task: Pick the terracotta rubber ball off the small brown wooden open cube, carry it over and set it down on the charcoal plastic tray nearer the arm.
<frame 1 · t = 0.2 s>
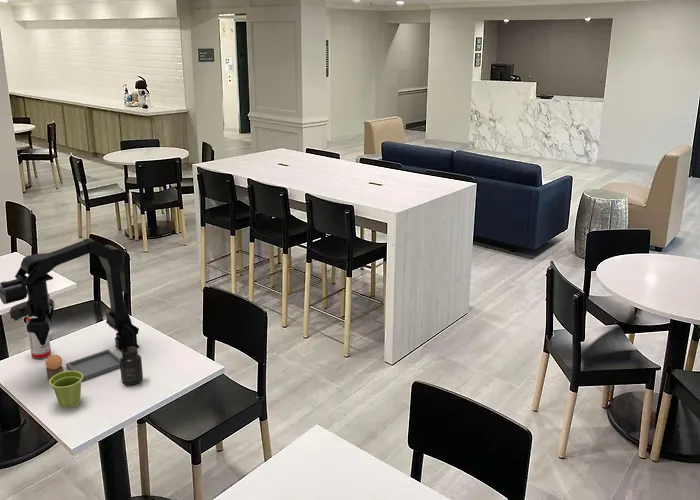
hand: (44, 338, 197), 14 cm above the table, fingers open, 9 cm apart
beer can: (41, 356, 213), on the table
supplement bottle: (132, 381, 200), on the table
ball: (53, 362, 198), point 6 cm above the table, touching brown wooden open cube
brown wooden open cube: (56, 377, 200), on the table
plant pot: (69, 403, 188), on the table
tray: (95, 367, 207), on the table
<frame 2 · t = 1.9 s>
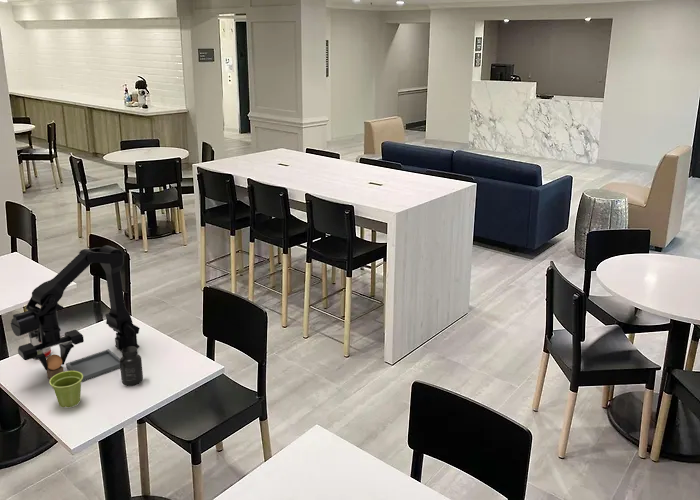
hand: (54, 367, 199), 4 cm above the table, fingers closed on ball, 5 cm apart
ball: (53, 362, 198), point 6 cm above the table, touching brown wooden open cube, gripper
everything else where it was.
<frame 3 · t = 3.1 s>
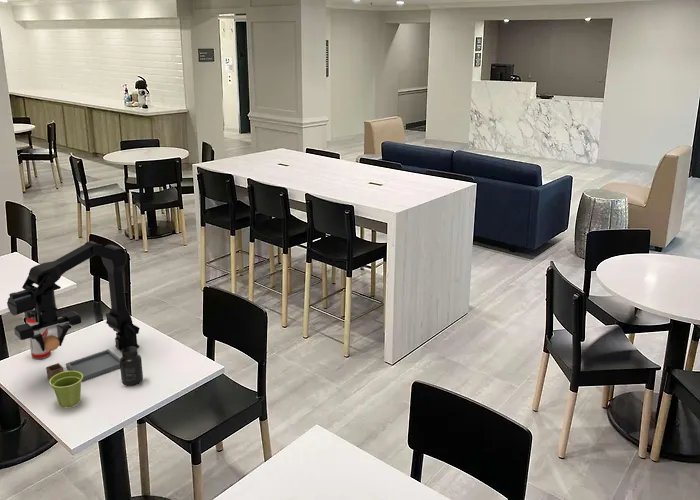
hand: (51, 348, 196), 11 cm above the table, fingers closed on ball, 5 cm apart
ball: (50, 343, 196), point 13 cm above the table, touching gripper
everything else where it was.
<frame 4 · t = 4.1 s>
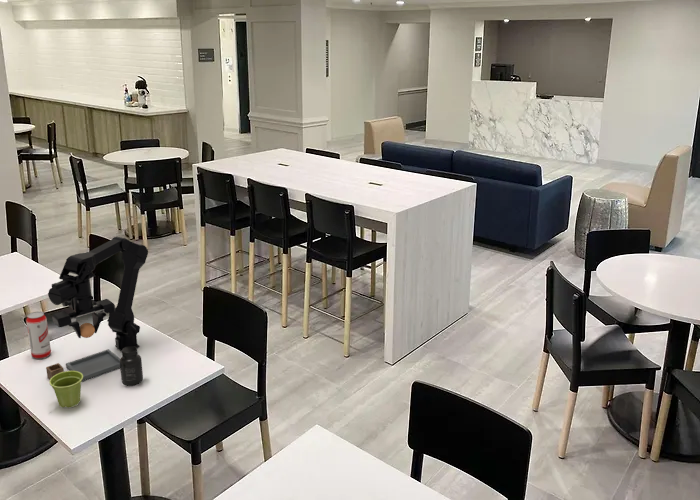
hand: (87, 335, 203), 13 cm above the table, fingers closed on ball, 5 cm apart
ball: (86, 330, 202), point 15 cm above the table, touching gripper
everything else where it was.
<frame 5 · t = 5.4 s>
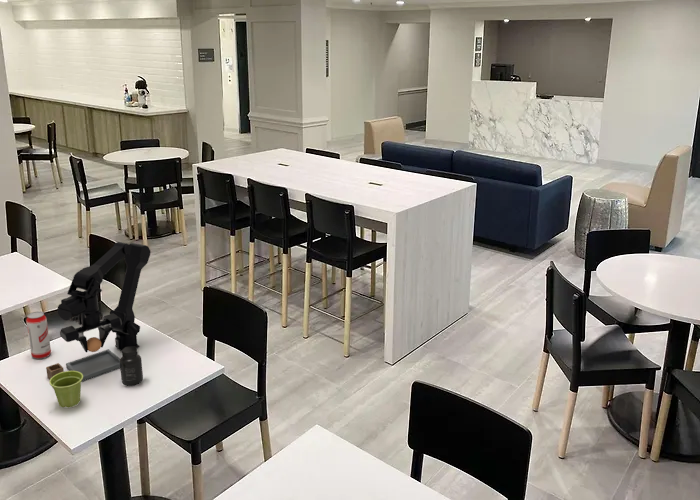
hand: (94, 349, 205), 7 cm above the table, fingers closed on ball, 5 cm apart
ball: (93, 344, 205), point 9 cm above the table, touching gripper
everything else where it was.
when the fingers open (3 cm above the table, at t = 6.5 s): ball drops 2 cm, resting on tray.
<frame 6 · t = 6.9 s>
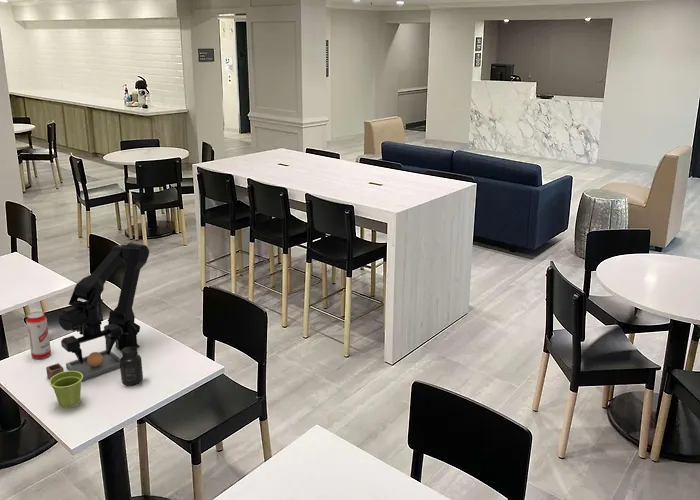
hand: (94, 359, 206), 3 cm above the table, fingers open, 9 cm apart
ball: (95, 359, 206), point 3 cm above the table, touching tray
everything else where it was.
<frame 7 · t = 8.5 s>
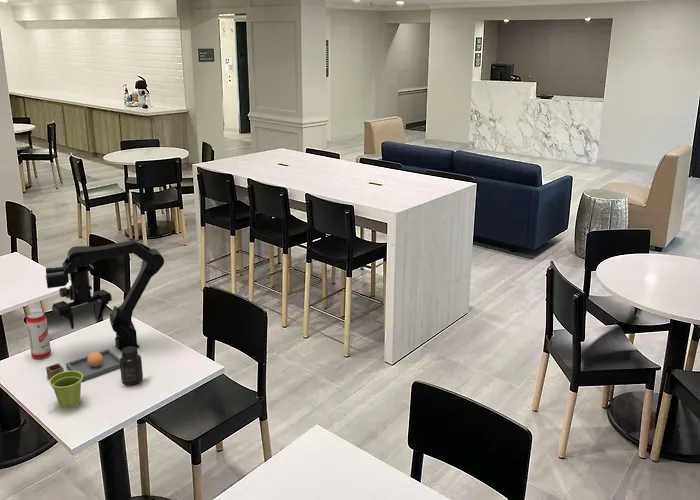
hand: (85, 324, 211), 12 cm above the table, fingers open, 9 cm apart
nothing on the table moved.
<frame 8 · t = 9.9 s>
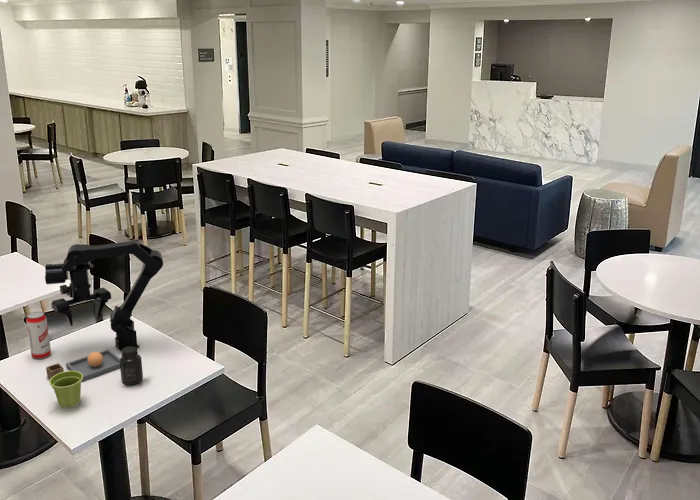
hand: (84, 321, 213), 12 cm above the table, fingers open, 9 cm apart
nothing on the table moved.
at the end: ball inside the target area on the tray (0.1 cm from its centre), point 3.1 cm above the tray's base; the gripper is holding nothing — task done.
